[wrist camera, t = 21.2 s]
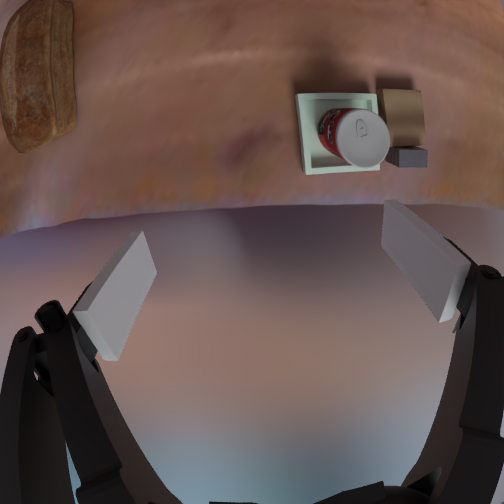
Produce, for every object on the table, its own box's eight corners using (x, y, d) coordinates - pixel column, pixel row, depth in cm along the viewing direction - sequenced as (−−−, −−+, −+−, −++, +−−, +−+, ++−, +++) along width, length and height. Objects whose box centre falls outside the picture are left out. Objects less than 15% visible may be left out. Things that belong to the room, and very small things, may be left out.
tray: (294, 94, 37) (297, 93, 35) (370, 94, 36) (376, 94, 34) (302, 171, 43) (305, 174, 41) (373, 166, 43) (379, 170, 41)
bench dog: (385, 144, 41) (399, 149, 36) (412, 145, 40) (427, 150, 36) (385, 161, 42) (399, 167, 38) (412, 161, 42) (427, 167, 37)
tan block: (374, 89, 36) (382, 88, 34) (412, 90, 36) (420, 90, 33) (381, 144, 41) (389, 146, 38) (417, 142, 40) (425, 145, 38)
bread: (80, -4, 24) (41, -21, 12) (85, 132, 39) (39, 145, 27) (36, 21, 24) (-5, 15, 12) (41, 149, 39) (-3, 166, 27)
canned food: (343, 99, 37) (371, 98, 27) (368, 139, 40) (400, 150, 30) (306, 123, 39) (324, 128, 29) (333, 163, 42) (357, 179, 32)
